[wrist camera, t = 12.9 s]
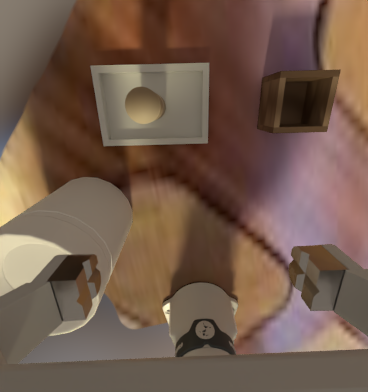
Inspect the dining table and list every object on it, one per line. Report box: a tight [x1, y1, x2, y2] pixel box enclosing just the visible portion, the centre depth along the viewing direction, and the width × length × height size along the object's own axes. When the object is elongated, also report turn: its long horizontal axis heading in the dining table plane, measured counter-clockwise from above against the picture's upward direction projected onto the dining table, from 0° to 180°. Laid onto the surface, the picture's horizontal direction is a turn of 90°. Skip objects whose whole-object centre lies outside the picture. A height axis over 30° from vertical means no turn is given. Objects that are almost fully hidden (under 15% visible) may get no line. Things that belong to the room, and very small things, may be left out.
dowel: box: [125, 87, 166, 124], centre depth 30 cm, size 4×4×12 cm
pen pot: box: [257, 70, 340, 133], centre depth 33 cm, size 8×8×7 cm
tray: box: [90, 63, 209, 146], centre depth 36 cm, size 12×18×2 cm, turn 91°
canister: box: [0, 177, 133, 336], centre depth 35 cm, size 16×16×20 cm
